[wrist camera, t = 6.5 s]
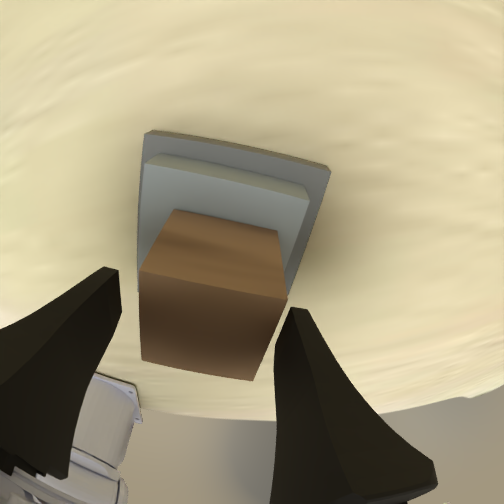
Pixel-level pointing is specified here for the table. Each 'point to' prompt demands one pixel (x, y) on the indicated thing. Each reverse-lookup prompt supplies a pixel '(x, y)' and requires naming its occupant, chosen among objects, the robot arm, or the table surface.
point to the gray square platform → (248, 160)
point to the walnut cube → (210, 295)
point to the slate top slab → (218, 199)
